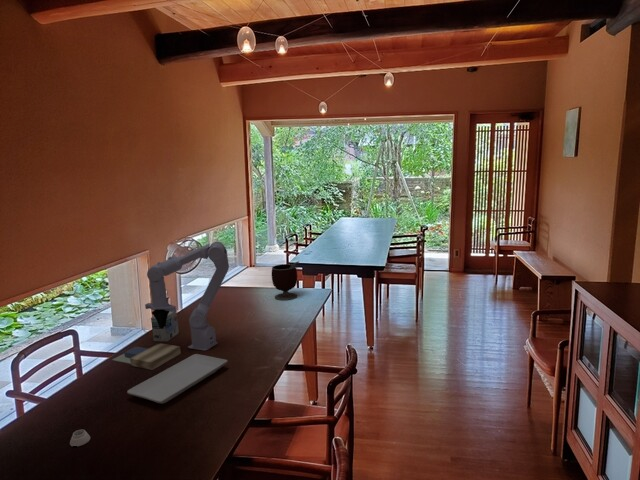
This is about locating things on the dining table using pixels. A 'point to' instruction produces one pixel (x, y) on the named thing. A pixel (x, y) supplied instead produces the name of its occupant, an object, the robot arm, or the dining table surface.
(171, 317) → the light bulb box
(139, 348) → the blue-grey flat block
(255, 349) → the dining table surface
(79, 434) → the lidless jar
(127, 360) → the mat
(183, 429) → the dining table surface
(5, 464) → the dining table surface
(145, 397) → the tray
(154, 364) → the deck
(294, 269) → the mate gourd
